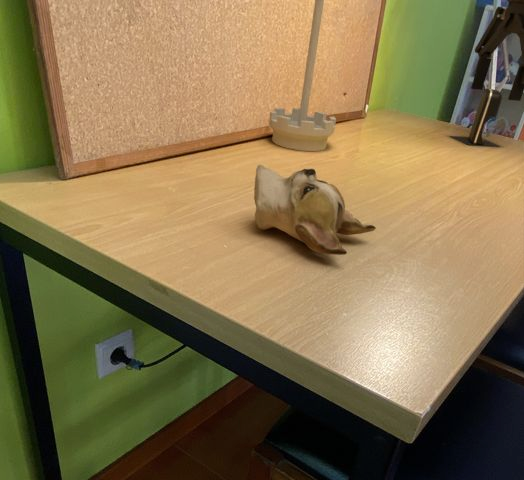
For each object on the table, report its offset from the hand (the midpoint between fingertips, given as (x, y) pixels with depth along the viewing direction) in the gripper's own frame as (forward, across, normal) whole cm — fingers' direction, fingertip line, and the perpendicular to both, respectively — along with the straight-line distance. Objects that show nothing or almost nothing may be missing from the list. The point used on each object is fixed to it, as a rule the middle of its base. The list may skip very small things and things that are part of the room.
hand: (494, 94), depth 116 cm
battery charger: (+11, 0, 0) cm, 11 cm away
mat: (+11, -1, 0) cm, 11 cm away
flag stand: (+10, +8, -49) cm, 51 cm away
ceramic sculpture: (+11, +54, -65) cm, 85 cm away
